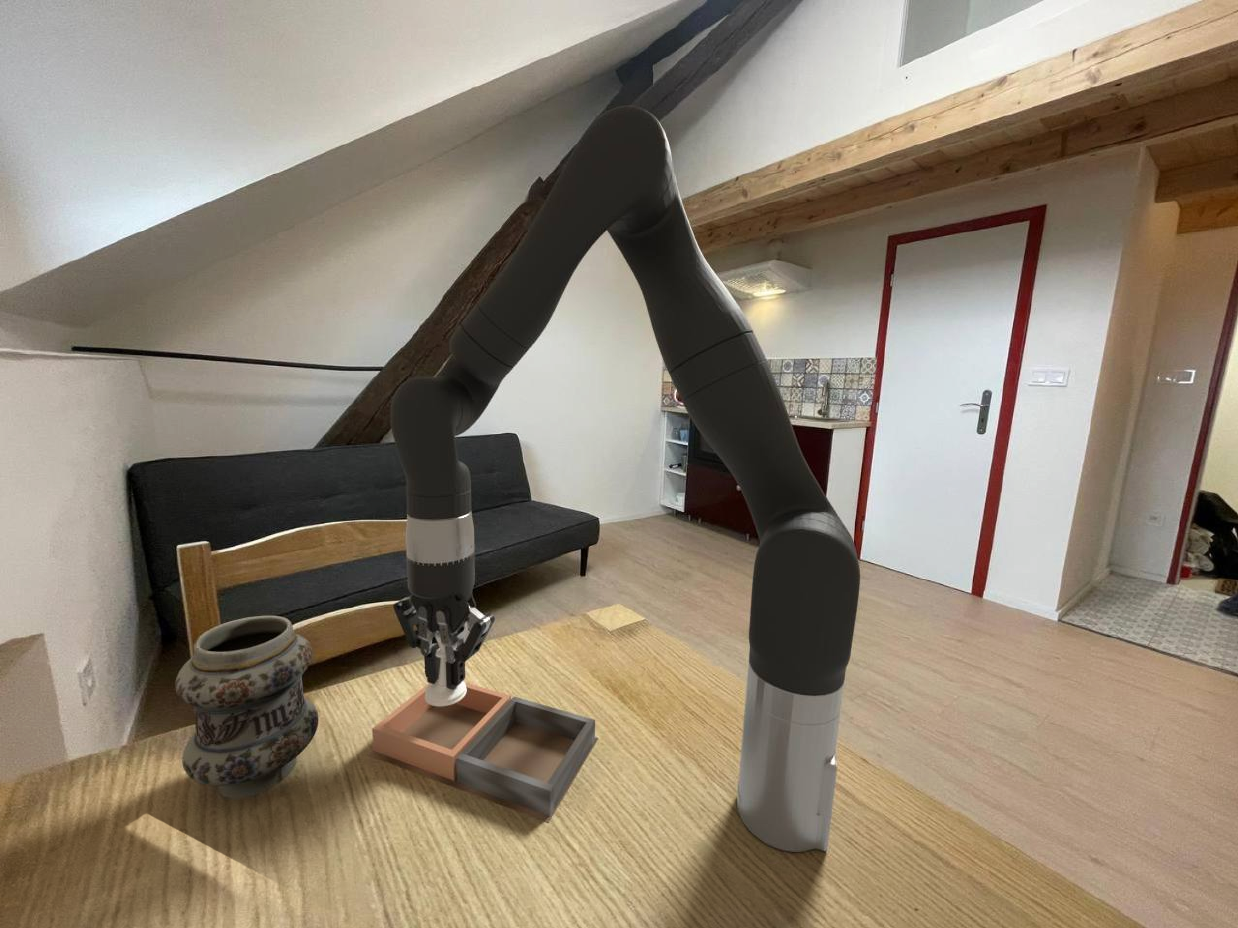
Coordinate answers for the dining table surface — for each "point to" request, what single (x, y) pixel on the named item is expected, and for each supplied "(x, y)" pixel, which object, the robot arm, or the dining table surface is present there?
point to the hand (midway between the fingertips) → (445, 682)
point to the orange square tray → (426, 753)
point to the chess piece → (443, 683)
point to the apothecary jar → (247, 705)
